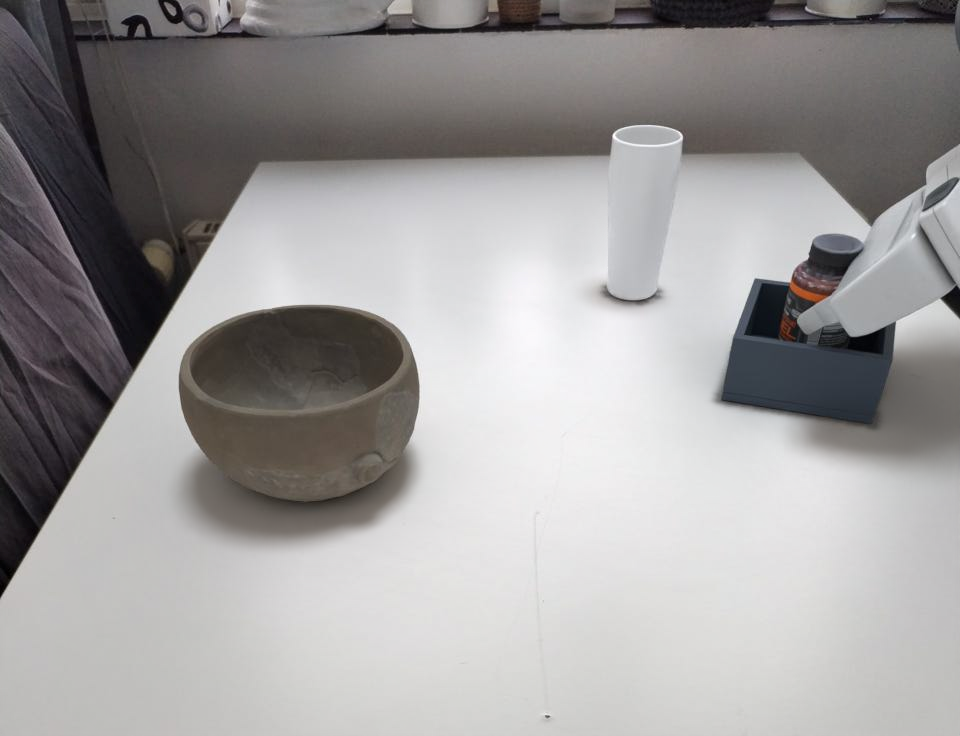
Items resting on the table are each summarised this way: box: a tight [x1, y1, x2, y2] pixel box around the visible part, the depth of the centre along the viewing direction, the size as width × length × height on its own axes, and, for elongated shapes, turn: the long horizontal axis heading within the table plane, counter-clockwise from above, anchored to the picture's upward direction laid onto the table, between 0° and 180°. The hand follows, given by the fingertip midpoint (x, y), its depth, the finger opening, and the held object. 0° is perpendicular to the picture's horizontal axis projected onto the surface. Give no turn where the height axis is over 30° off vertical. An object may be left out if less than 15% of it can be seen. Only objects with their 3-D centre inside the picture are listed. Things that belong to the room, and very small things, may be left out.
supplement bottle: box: [777, 233, 863, 350], centre depth 76 cm, size 6×6×11 cm
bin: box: [720, 277, 897, 425], centre depth 79 cm, size 13×13×6 cm
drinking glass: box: [606, 124, 684, 301], centre depth 89 cm, size 7×7×15 cm
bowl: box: [178, 304, 421, 503], centre depth 69 cm, size 17×18×10 cm
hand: (812, 307), depth 76 cm, fingers closed on supplement bottle, 6 cm apart
